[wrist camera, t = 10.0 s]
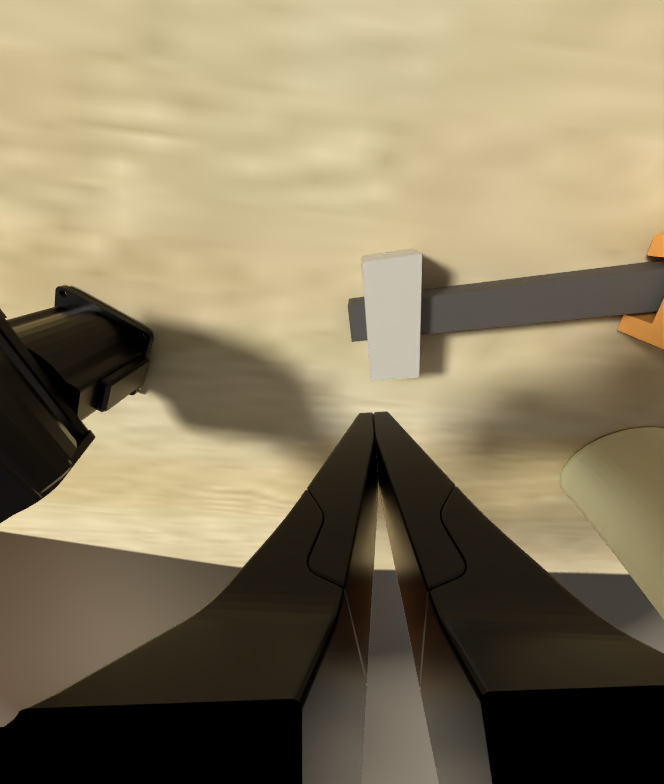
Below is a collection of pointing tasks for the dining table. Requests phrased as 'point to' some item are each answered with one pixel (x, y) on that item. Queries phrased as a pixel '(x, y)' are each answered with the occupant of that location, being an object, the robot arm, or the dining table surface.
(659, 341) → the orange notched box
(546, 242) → the dining table surface
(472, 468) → the dining table surface
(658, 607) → the can
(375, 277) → the toy mallet
